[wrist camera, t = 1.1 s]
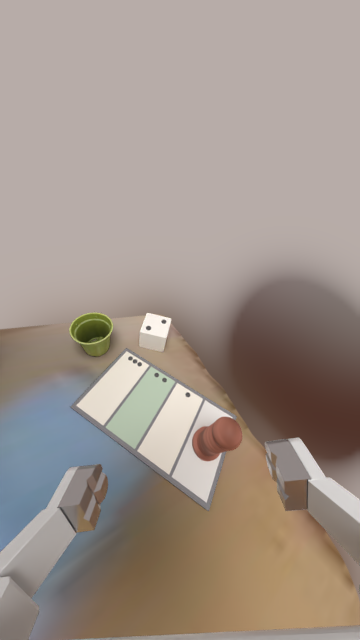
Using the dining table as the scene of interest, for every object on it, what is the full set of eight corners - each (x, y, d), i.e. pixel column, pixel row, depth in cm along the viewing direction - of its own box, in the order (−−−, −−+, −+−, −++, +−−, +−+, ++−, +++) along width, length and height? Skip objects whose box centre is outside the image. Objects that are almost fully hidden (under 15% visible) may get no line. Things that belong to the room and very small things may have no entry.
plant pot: (87, 369, 45) (79, 351, 39) (71, 342, 49) (62, 322, 43) (122, 350, 50) (120, 331, 44) (105, 328, 54) (101, 307, 48)
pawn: (187, 450, 38) (208, 437, 27) (199, 422, 42) (221, 402, 31) (213, 468, 37) (245, 463, 26) (223, 437, 41) (254, 422, 30)
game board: (70, 407, 39) (70, 406, 39) (126, 348, 51) (126, 347, 51) (207, 511, 33) (209, 511, 33) (235, 416, 45) (236, 416, 44)
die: (139, 346, 52) (139, 331, 47) (145, 328, 57) (147, 312, 52) (163, 352, 52) (166, 338, 47) (167, 333, 57) (171, 318, 52)
